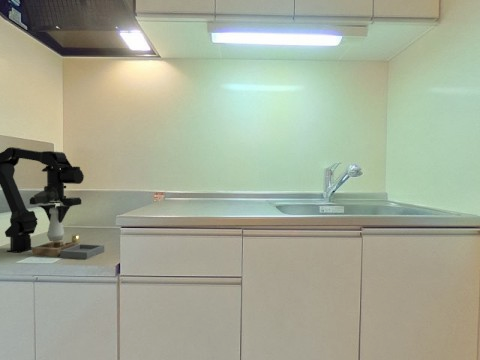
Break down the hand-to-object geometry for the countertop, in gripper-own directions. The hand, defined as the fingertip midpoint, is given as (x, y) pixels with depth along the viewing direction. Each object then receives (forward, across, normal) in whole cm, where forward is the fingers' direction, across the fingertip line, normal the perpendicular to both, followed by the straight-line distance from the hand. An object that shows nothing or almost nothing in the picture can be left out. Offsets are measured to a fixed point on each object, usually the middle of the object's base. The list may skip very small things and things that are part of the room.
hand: (55, 222), depth 121 cm
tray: (+12, +12, 0) cm, 17 cm away
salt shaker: (+7, 0, 0) cm, 7 cm away
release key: (+12, 0, +8) cm, 15 cm away
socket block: (+12, 0, 0) cm, 12 cm away
